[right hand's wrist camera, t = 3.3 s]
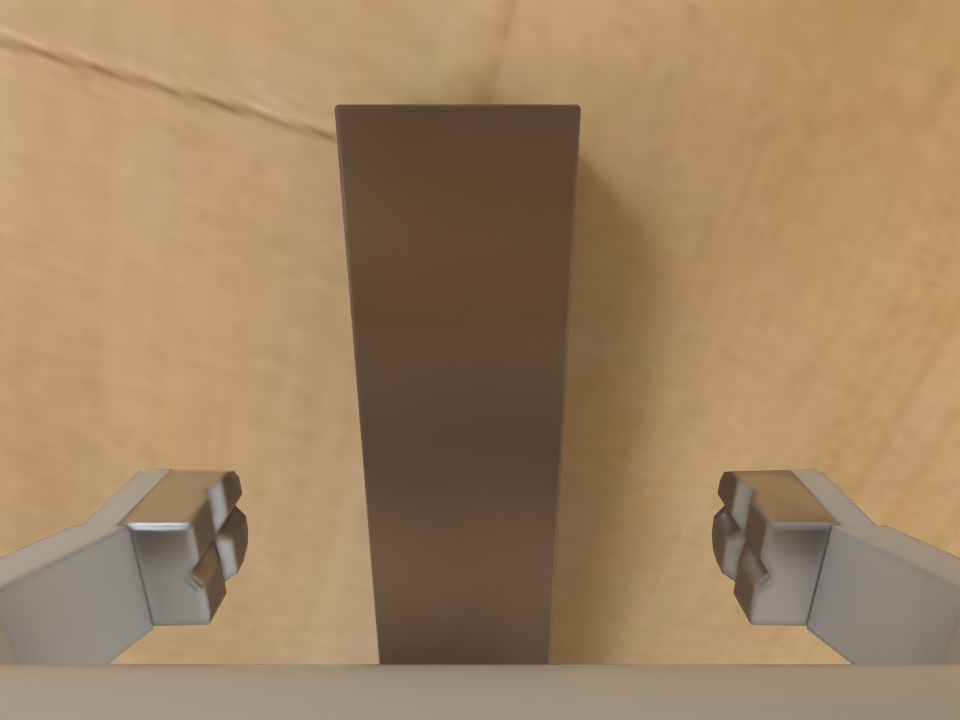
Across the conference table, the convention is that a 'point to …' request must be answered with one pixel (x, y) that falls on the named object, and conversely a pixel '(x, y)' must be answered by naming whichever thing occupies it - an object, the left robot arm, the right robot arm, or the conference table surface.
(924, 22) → the conference table surface
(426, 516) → the beam
